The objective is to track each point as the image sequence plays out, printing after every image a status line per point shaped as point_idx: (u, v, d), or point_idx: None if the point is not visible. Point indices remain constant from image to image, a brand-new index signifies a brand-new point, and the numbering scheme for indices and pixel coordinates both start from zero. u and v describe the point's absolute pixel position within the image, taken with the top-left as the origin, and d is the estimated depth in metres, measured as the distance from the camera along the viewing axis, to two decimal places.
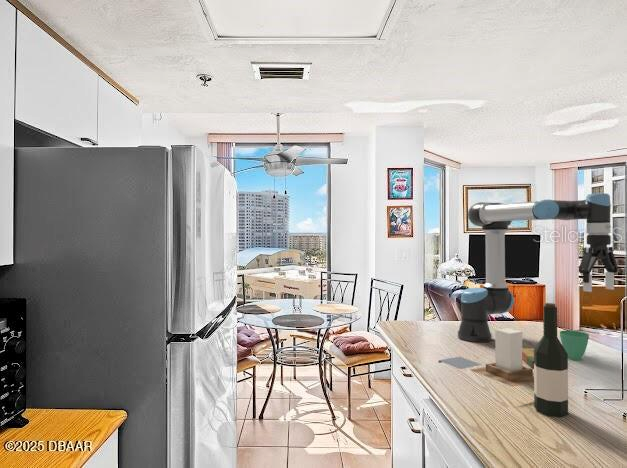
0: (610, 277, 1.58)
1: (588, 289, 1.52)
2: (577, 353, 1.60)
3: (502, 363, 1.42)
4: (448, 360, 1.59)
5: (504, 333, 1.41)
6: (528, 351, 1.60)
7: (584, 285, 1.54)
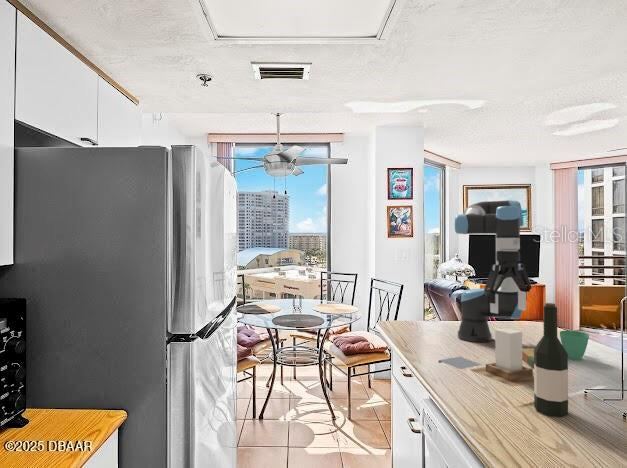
0: (522, 297, 1.45)
1: (494, 310, 1.40)
2: (577, 353, 1.60)
3: (502, 363, 1.42)
4: (448, 360, 1.59)
5: (504, 333, 1.41)
6: (528, 351, 1.60)
7: (491, 306, 1.41)
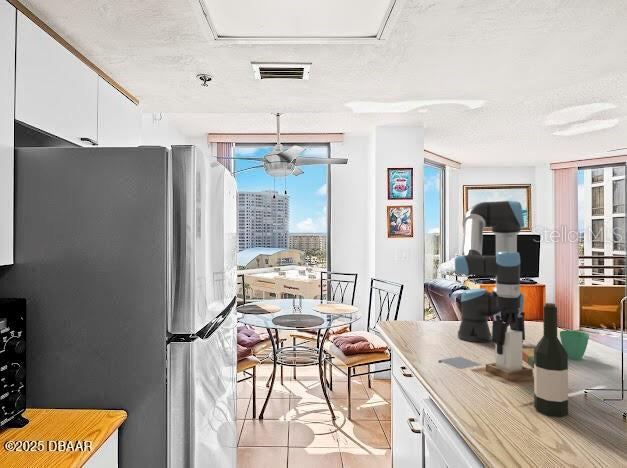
0: None
1: (502, 361, 1.41)
2: (577, 353, 1.60)
3: None
4: (448, 360, 1.59)
5: None
6: (529, 351, 1.60)
7: (498, 356, 1.43)
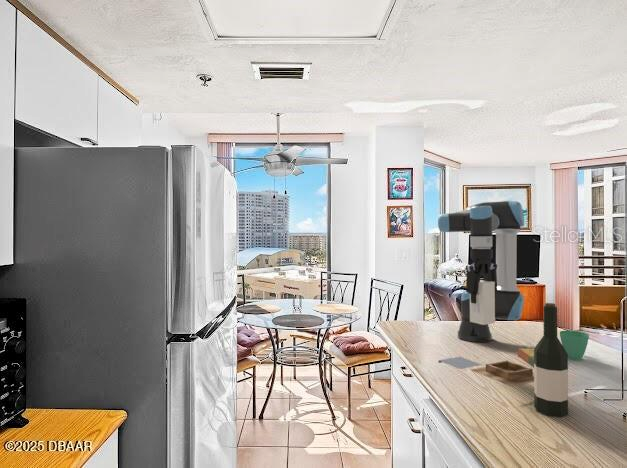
0: None
1: (475, 310, 1.48)
2: (577, 353, 1.60)
3: None
4: (448, 360, 1.59)
5: None
6: (529, 351, 1.60)
7: (472, 305, 1.50)
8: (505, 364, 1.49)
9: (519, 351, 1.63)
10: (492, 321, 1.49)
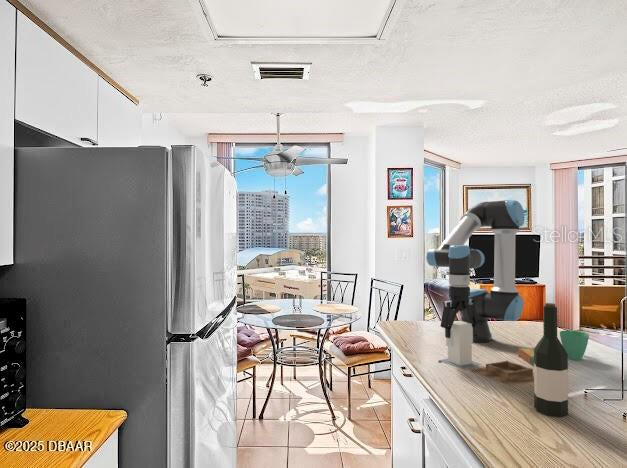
0: None
1: (450, 344, 1.54)
2: (577, 353, 1.60)
3: (453, 352, 1.55)
4: None
5: (455, 325, 1.54)
6: (530, 351, 1.60)
7: (447, 340, 1.55)
8: (505, 364, 1.49)
9: (520, 351, 1.63)
10: (469, 362, 1.54)
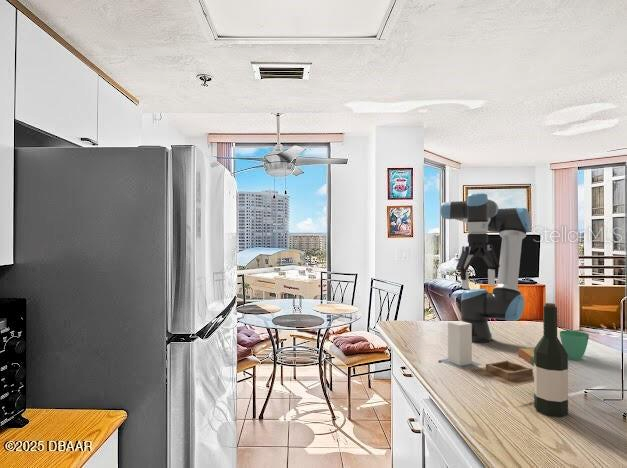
0: (491, 274, 1.64)
1: (465, 286, 1.58)
2: (577, 353, 1.60)
3: (453, 352, 1.55)
4: None
5: (455, 325, 1.54)
6: (530, 351, 1.60)
7: (462, 282, 1.60)
8: (505, 364, 1.49)
9: (520, 351, 1.63)
10: (469, 362, 1.54)
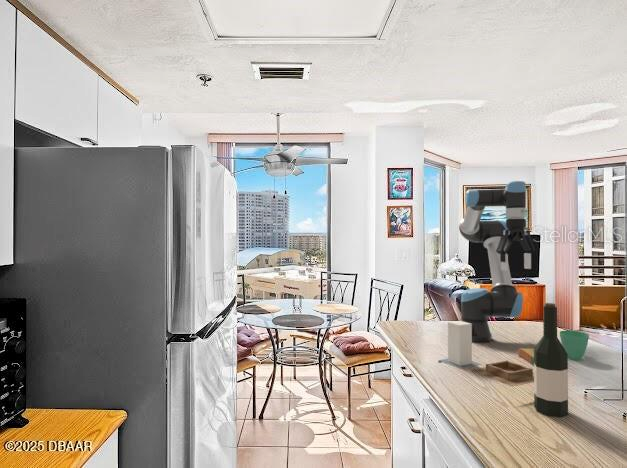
0: (527, 257, 1.74)
1: (505, 268, 1.68)
2: (577, 353, 1.60)
3: (453, 352, 1.55)
4: None
5: (455, 325, 1.54)
6: (531, 351, 1.60)
7: (502, 264, 1.70)
8: (505, 364, 1.49)
9: (520, 351, 1.63)
10: (469, 362, 1.54)
